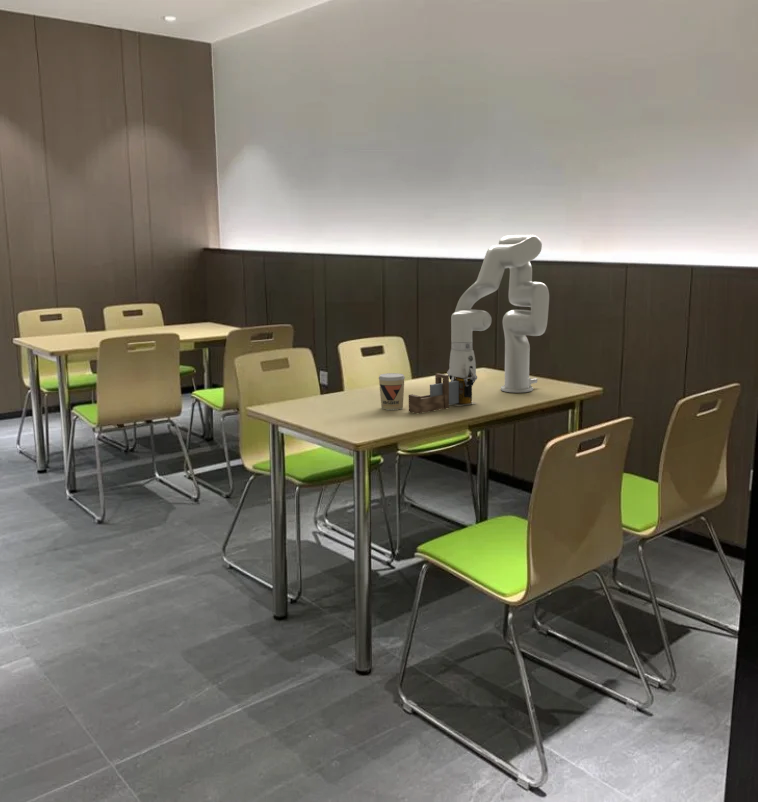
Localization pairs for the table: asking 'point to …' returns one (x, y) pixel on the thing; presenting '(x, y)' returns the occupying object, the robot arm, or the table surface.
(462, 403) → the condiment
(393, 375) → the coffee cup
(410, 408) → the brown l-shaped block
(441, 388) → the gate
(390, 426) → the table surface
